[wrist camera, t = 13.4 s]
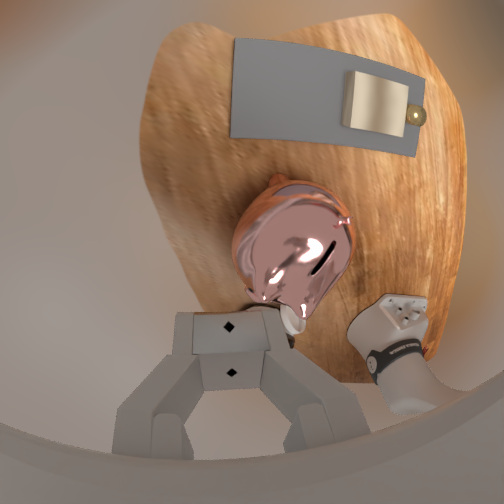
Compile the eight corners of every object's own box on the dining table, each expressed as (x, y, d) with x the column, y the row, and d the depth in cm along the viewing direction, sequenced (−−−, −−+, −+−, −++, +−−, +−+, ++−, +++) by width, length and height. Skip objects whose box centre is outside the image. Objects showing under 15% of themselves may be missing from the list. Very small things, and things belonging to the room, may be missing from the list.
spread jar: (228, 324, 54) (233, 372, 44) (254, 281, 50) (265, 330, 40) (280, 337, 58) (292, 381, 48) (309, 299, 53) (329, 343, 44)
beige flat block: (397, 85, 33) (408, 86, 30) (391, 133, 37) (402, 137, 34) (345, 71, 31) (355, 71, 29) (341, 124, 36) (350, 127, 33)
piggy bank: (206, 243, 44) (206, 313, 31) (273, 146, 38) (309, 178, 24) (282, 281, 50) (306, 350, 37) (348, 202, 44) (401, 252, 30)
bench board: (419, 78, 33) (425, 78, 32) (409, 155, 40) (415, 157, 39) (234, 39, 29) (235, 37, 28) (229, 136, 36) (230, 137, 35)
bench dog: (411, 105, 34) (427, 108, 31) (409, 124, 36) (425, 128, 33) (396, 100, 34) (412, 103, 31) (394, 119, 36) (409, 123, 32)
